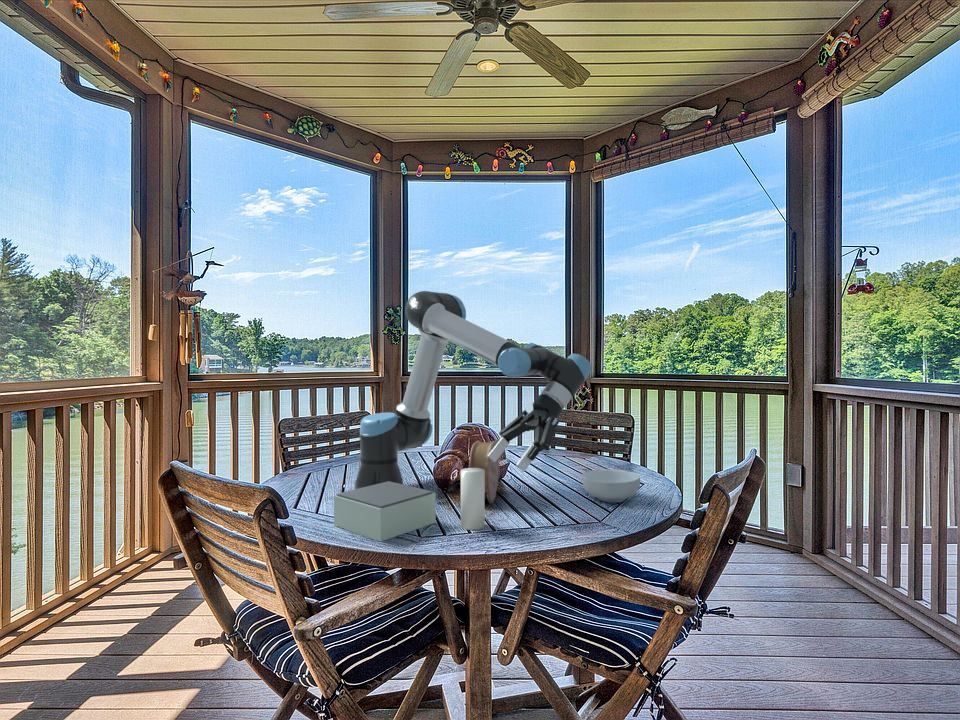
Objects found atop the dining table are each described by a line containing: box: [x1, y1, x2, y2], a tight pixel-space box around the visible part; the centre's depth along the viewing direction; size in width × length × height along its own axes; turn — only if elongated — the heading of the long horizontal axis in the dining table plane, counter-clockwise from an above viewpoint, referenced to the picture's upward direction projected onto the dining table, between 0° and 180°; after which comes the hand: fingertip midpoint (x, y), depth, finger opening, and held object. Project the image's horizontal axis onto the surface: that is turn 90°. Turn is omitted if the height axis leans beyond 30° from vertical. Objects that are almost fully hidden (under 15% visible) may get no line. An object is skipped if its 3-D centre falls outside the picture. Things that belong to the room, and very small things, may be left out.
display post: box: [460, 467, 486, 531], centre depth 138 cm, size 6×6×14 cm
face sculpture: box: [468, 438, 501, 504], centre depth 163 cm, size 20×7×17 cm, turn 171°
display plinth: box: [333, 481, 437, 542], centre depth 139 cm, size 18×18×8 cm
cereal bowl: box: [581, 468, 641, 503], centre depth 162 cm, size 17×17×7 cm
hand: (504, 463), depth 142 cm, fingers open, 13 cm apart
